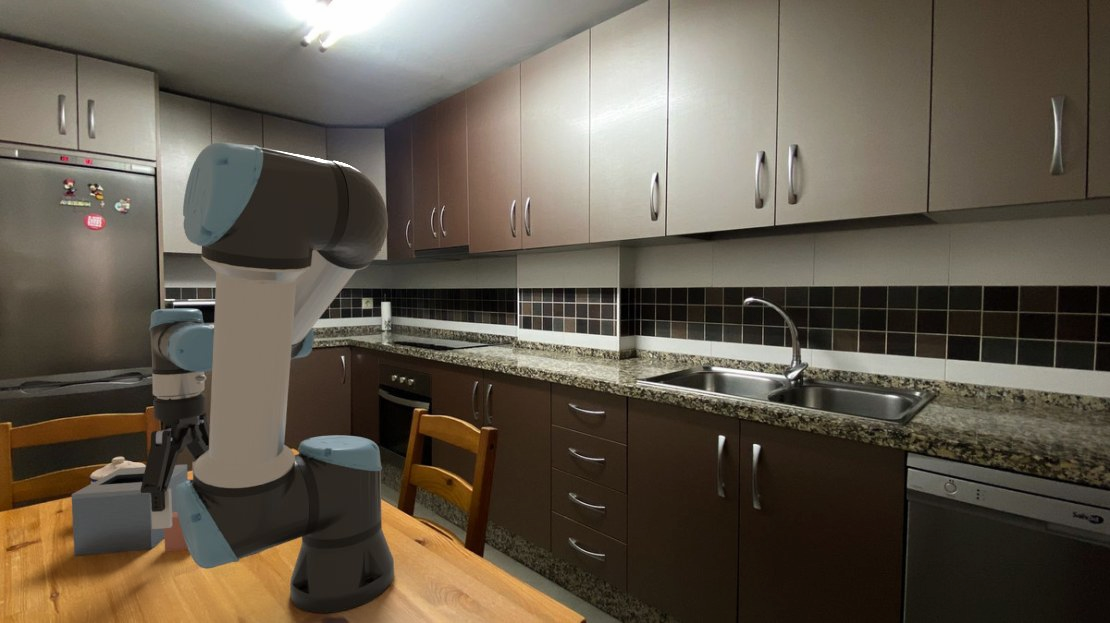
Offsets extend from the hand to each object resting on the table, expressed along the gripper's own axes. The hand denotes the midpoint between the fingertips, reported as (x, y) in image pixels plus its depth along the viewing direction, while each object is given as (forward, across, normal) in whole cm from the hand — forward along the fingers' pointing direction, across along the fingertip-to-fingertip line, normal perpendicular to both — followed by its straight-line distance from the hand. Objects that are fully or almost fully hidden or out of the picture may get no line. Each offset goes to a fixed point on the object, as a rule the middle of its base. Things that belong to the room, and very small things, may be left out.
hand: (183, 509), depth 93 cm
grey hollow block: (+7, +6, +11) cm, 14 cm away
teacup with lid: (+7, +18, +22) cm, 29 cm away
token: (+7, 0, 0) cm, 7 cm away
